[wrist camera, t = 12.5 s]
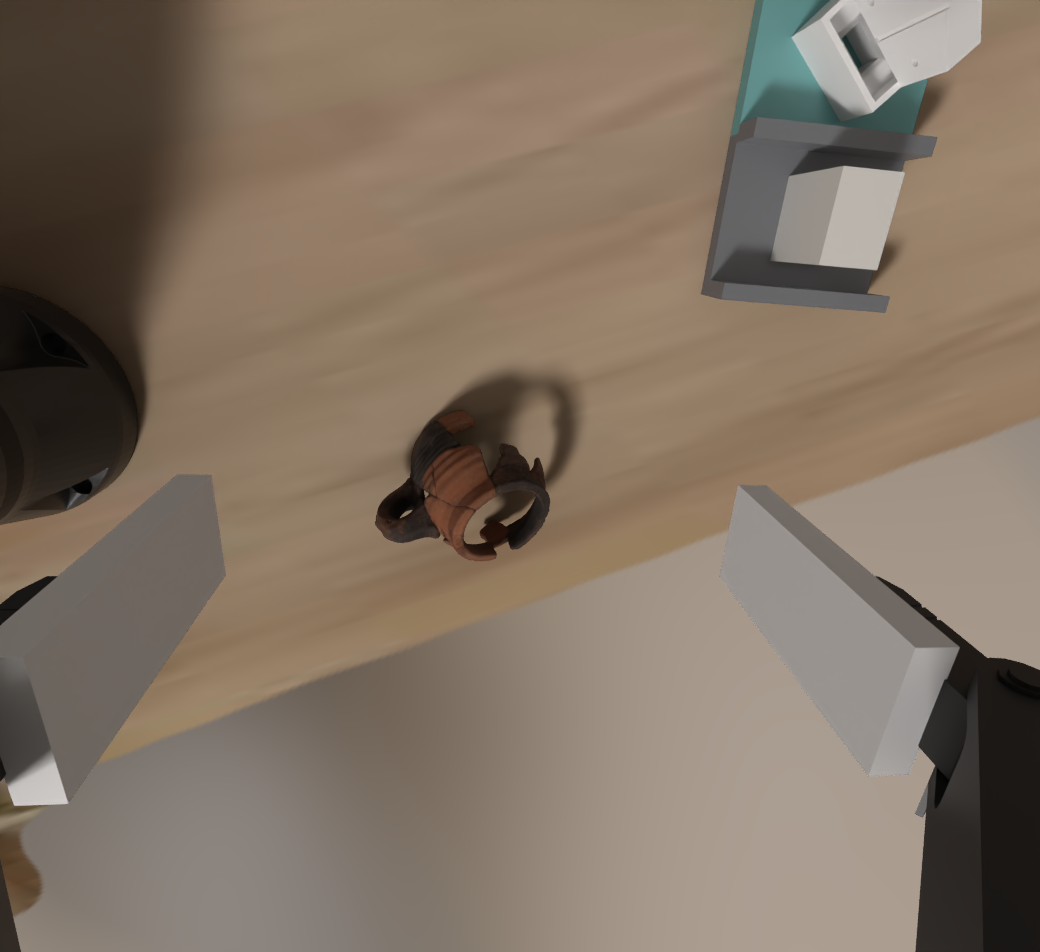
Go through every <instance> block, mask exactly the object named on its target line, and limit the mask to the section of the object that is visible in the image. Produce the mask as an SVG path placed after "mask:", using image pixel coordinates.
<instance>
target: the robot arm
mask: <svg viewBox="0 0 1040 952" xmlns="http://www.w3.org/2000/svg"><path fill="white" fill-rule="evenodd" d="M137 427H138V423H137V411H136V405H135V401H134V397H133V393H132V391H131V388H130V385H129V383H128V381H127V378H126V376H125V374H124V372H123V370H122V369H121V367H120V365H119V364H118V362H117V361H116V359H115V358H114V356H113V355H112V353H111V352H110V351H109V350H108V348H107V347H106V346H105V345H104V344H103V342H102V341H101V340H100V339H99V338H98V337H97V336H96V335H95V334H94V333H93V332H92V331H91V330H90V329H88V328H87V327H86V326H85V325H84V324H83V323H81V322H80V321H79V320H77V319H76V318H75V317H73V316H72V315H70V314H69V313H68V312H66V311H64V310H63V309H61V308H59V307H58V306H56V305H54V304H52V303H50V302H48V301H46V300H44V299H41V298H39V297H37V296H34V295H31V294H29V293H25V292H22V291H19V290H15V289H11V288H6V287H0V525H2V524H8V523H13V522H18V521H23V520H29V519H34V518H39V517H44V516H49V515H54V514H58V513H61V512H64V511H67V510H69V509H72V508H74V507H76V506H79V505H81V504H82V503H84V502H86V501H87V500H89V499H90V498H92V497H93V496H95V495H96V494H98V493H99V492H101V491H102V490H104V489H105V488H107V487H108V486H109V485H110V484H112V483H113V482H114V481H115V480H116V479H117V478H118V477H119V475H120V474H121V473H122V472H123V470H124V469H125V467H126V466H127V464H128V462H129V460H130V458H131V456H132V453H133V450H134V447H135V443H136V438H137ZM225 576H226V573H225V566H224V559H223V552H222V545H221V538H220V531H219V524H218V517H217V511H216V504H215V497H214V490H213V483H212V476H211V475H184V474H177V475H176V476H175V477H174V478H173V479H171V480H170V481H169V482H168V483H167V484H166V485H164V486H163V487H162V488H161V489H160V490H159V491H157V492H156V493H155V494H154V495H153V496H152V497H150V498H149V499H148V500H147V501H146V502H145V503H143V504H142V505H141V506H140V507H139V508H137V509H136V510H135V511H134V512H133V513H132V514H130V515H129V516H128V517H127V518H126V519H125V520H123V521H122V522H121V523H120V524H119V525H118V526H116V527H115V528H114V529H113V530H112V531H110V532H109V533H108V534H107V535H106V536H105V537H103V538H102V539H101V540H100V541H99V542H98V543H96V544H95V545H94V546H93V547H92V548H91V549H89V550H88V551H87V552H86V553H85V554H84V555H82V556H81V557H80V558H79V559H78V560H76V561H75V562H74V563H73V564H72V565H71V566H69V567H68V568H67V569H66V570H65V571H64V572H62V573H61V574H60V575H59V576H47V577H45V578H43V579H41V580H39V581H37V582H35V583H33V584H31V585H29V586H27V587H25V588H23V589H21V590H18V591H16V592H15V593H14V594H13V595H12V596H10V597H9V598H8V599H7V600H5V601H4V602H3V603H2V604H0V781H1V780H2V779H3V778H5V781H6V784H7V786H8V789H9V792H10V795H11V798H12V800H13V803H14V806H19V805H48V804H68V803H69V802H70V801H71V799H72V798H73V796H74V795H75V793H76V792H77V791H78V789H79V788H80V786H81V785H82V783H83V782H84V780H85V779H86V777H87V776H88V774H89V773H90V771H91V770H92V769H93V767H94V766H95V764H96V763H97V762H98V760H99V759H100V757H101V756H102V754H103V753H104V751H105V750H106V748H107V747H108V746H109V744H110V743H111V741H112V740H113V738H114V737H115V735H116V734H117V732H118V731H119V730H120V728H121V727H122V725H123V724H124V722H125V721H126V719H127V718H128V716H129V715H130V714H131V712H132V711H133V709H134V708H135V706H136V705H137V703H138V702H139V701H140V699H141V698H142V696H143V695H144V693H145V692H146V690H147V689H148V687H149V686H150V685H151V683H152V682H153V680H154V679H155V677H156V676H157V674H158V673H159V671H160V670H161V669H162V667H163V666H164V664H165V663H166V661H167V660H168V658H169V657H170V656H171V654H172V653H173V651H174V650H175V648H176V647H177V645H178V644H179V642H180V641H181V640H182V638H183V637H184V635H185V634H186V632H187V631H188V629H189V628H190V626H191V625H192V624H193V622H194V621H195V619H196V618H197V616H198V615H199V613H200V612H201V610H202V609H203V608H204V606H205V605H206V603H207V602H208V600H209V599H210V597H211V596H212V595H213V593H214V592H215V590H216V589H217V587H218V586H219V584H220V583H221V581H222V580H223V579H224V577H225ZM719 577H720V578H721V579H722V581H723V582H724V583H725V585H726V586H727V587H728V589H729V590H730V591H731V593H732V594H733V595H734V597H735V598H736V599H737V601H738V602H739V603H740V605H741V606H742V608H743V609H744V610H745V612H746V613H747V614H748V616H749V617H750V618H751V620H752V621H753V622H754V624H755V625H756V626H757V628H758V629H759V630H760V632H761V633H762V634H763V636H764V637H765V638H766V640H767V641H768V642H769V644H770V645H771V646H772V648H773V649H774V650H775V652H776V653H777V655H778V656H779V657H780V659H781V660H782V661H783V662H784V664H785V665H786V667H787V668H788V669H789V671H790V672H791V673H792V675H793V676H794V677H795V679H796V680H797V681H798V683H799V684H800V685H801V687H802V688H803V689H804V691H805V692H806V693H807V695H808V696H809V697H810V699H811V700H812V702H813V703H814V704H815V705H816V707H817V708H818V710H819V711H820V712H821V714H822V715H823V716H824V718H825V719H826V720H827V722H828V723H829V724H830V726H831V727H832V728H833V730H834V731H835V732H836V734H837V735H838V736H839V738H840V739H841V740H842V742H843V743H844V745H845V746H846V747H847V748H848V750H849V751H850V753H851V754H852V755H853V756H854V758H855V759H856V761H857V762H858V763H859V765H860V766H861V767H862V768H863V770H864V771H865V773H866V774H867V775H868V776H889V775H890V776H892V775H909V773H910V770H911V767H912V765H913V763H914V760H915V757H916V755H917V752H918V750H919V748H921V750H922V751H923V752H924V753H925V754H926V755H927V756H928V757H929V759H930V760H931V761H932V762H933V763H934V764H935V768H934V770H933V772H932V775H931V777H930V779H929V782H928V784H927V787H926V789H925V792H924V794H923V796H922V798H921V801H920V803H919V806H918V808H917V810H916V813H915V814H916V815H918V816H920V817H923V815H924V814H925V812H926V820H925V834H924V847H923V860H922V873H921V886H920V900H919V913H918V927H917V939H916V952H1040V670H1038V669H1035V668H1033V667H1031V666H1028V665H1026V664H1023V663H1020V662H1016V661H1012V660H1008V659H1001V658H987V657H985V656H984V655H983V654H982V653H980V652H979V651H978V650H977V649H975V648H974V647H973V646H972V645H971V644H969V643H968V642H967V641H966V640H964V639H963V638H962V637H961V636H960V635H958V634H957V633H956V632H954V631H953V630H952V629H951V628H950V627H948V626H947V625H946V624H945V623H944V622H942V621H941V620H937V617H936V616H935V615H934V614H932V613H931V612H930V611H929V610H928V609H926V608H922V606H921V604H920V603H919V602H918V601H916V600H915V599H914V598H913V597H912V596H910V595H909V594H908V593H907V592H905V591H904V590H903V589H901V588H899V587H897V586H895V585H893V584H891V583H890V582H888V581H886V580H884V579H882V578H880V577H877V576H876V577H875V576H874V575H873V574H871V573H870V572H869V571H868V570H867V569H865V568H864V567H863V566H862V565H861V564H860V563H858V562H857V561H856V560H855V559H854V558H852V557H851V556H850V555H849V554H848V553H846V552H845V551H844V550H843V549H841V548H840V547H839V546H838V545H837V544H836V543H834V542H833V541H832V540H831V539H830V538H828V537H827V536H826V535H825V534H824V533H822V532H821V531H820V530H819V529H818V528H816V527H815V526H814V525H813V524H812V523H810V522H809V521H808V520H807V519H806V518H805V517H803V516H802V515H801V514H800V513H798V512H797V511H796V510H795V509H794V508H793V507H791V506H790V505H789V504H788V503H787V502H785V501H784V500H783V499H782V498H781V497H779V496H778V495H777V494H776V493H775V492H773V491H772V490H771V489H770V488H769V487H767V486H766V485H738V489H737V494H736V498H735V503H734V508H733V513H732V518H731V522H730V527H729V532H728V537H727V542H726V547H725V551H724V556H723V561H722V565H721V570H720V575H719ZM0 952H21V950H20V946H19V941H18V937H17V932H16V928H15V923H14V919H13V914H12V910H11V905H10V901H9V896H8V892H7V888H6V883H5V879H4V874H3V870H2V865H1V861H0Z"/></svg>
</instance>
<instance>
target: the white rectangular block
mask: <svg viewBox="0 0 1040 952" xmlns="http://www.w3.org/2000/svg"><path fill="white" fill-rule="evenodd" d="M904 174H905V172H897V171H888V170H878V169H869V168H859V167H850V166H840V167H835V168H830V169H824V170H819V171H814V172H808V173H803V174H798V175H792V176H789V178H788V183H787V187H786V192H785V196H784V201H783V205H782V210H781V214H780V219H779V223H778V228H777V232H776V237H775V241H774V246H773V250H772V255H771V259H770V261H778V262H789V263H800V264H812V265H823V266H834V267H846V268H858V269H869V270H877V269H878V266H879V262H880V259H881V255H882V252H883V248H884V245H885V241H886V238H887V234H888V231H889V227H890V224H891V220H892V217H893V213H894V209H895V206H896V202H897V199H898V195H899V192H900V188H901V185H902V181H903V178H904Z"/></svg>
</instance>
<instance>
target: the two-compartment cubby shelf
mask: <svg viewBox="0 0 1040 952" xmlns="http://www.w3.org/2000/svg"><path fill="white" fill-rule="evenodd" d="M829 1H830V0H756V2H755V8H754V13H753V18H752V24H751V29H750V34H749V40H748V45H747V51H746V56H745V61H744V67H743V72H742V77H741V83H740V88H739V94H738V99H737V104H736V110H735V115H734V120H733V126H732V131H731V137H730V142H729V147H728V153H727V158H726V164H725V169H724V174H723V180H722V185H721V190H720V196H719V201H718V207H717V212H716V217H715V223H714V228H713V233H712V239H711V244H710V250H709V255H708V260H707V266H706V271H705V277H704V282H703V287H702V293H701V294H702V295H706V296H710V297H714V298H718V299H723V300H735V301H747V302H759V303H772V304H784V305H796V306H808V307H820V308H833V309H845V310H857V311H869V312H881V313H885V312H886V309H887V305H888V302H889V299H890V297H888V296H881V295H875V294H868V293H867V292H868V289H869V285H870V282H871V278H872V275H873V271H874V270H869V269H858V268H846V267H834V266H823V265H812V264H800V263H789V262H778V261H770V259H771V255H772V250H773V246H774V241H775V237H776V232H777V228H778V223H779V219H780V214H781V210H782V205H783V201H784V196H785V192H786V187H787V183H788V178H789V176H792V175H798V174H803V173H808V172H814V171H819V170H824V169H830V168H835V167H840V166H850V167H859V168H869V169H878V170H888V171H897V172H902V169H903V165H904V162H905V161H908V160H914V159H919V158H925V157H931V156H932V154H933V150H934V147H935V144H936V140H937V137H932V136H923V135H914V134H913V130H914V126H915V123H916V119H917V116H918V112H919V109H920V105H921V102H922V98H923V95H924V91H925V88H926V84H927V81H928V78H927V79H924V80H921V81H918V82H915V83H912V84H909V85H906V86H903V87H901V88H900V89H898V90H897V91H896V92H895V93H894V94H893V95H892V96H891V97H889V98H888V99H887V100H886V101H885V102H884V103H883V104H882V105H880V106H879V107H878V108H877V109H876V110H875V111H874V112H873V113H869V114H866V115H863V116H860V117H856V118H853V119H850V120H847V121H843V122H840V120H839V119H838V117H837V115H836V113H835V112H834V110H833V108H832V106H831V105H830V103H829V101H828V100H827V98H826V96H825V94H824V93H823V91H822V89H821V88H820V86H819V84H818V82H817V81H816V79H815V77H814V75H813V74H812V72H811V70H810V69H809V67H808V65H807V63H806V62H805V60H804V58H803V56H802V55H801V53H800V51H799V50H798V48H797V46H796V44H795V43H794V41H793V39H792V36H793V35H794V34H795V33H796V32H797V31H798V30H799V29H800V28H801V27H802V26H803V25H804V24H806V23H807V22H808V21H809V20H810V19H811V18H812V17H813V16H814V15H815V14H816V13H817V12H818V11H819V10H820V9H821V8H822V7H823V6H824V5H826V4H827V3H828V2H829ZM842 40H843V42H844V44H845V46H846V48H847V49H848V51H849V53H850V55H851V57H852V58H853V60H854V62H855V64H856V66H857V68H858V69H859V68H860V67H861V66H862V64H861V62H860V60H859V59H858V57H857V55H856V53H855V51H854V49H853V48H852V46H851V44H850V42H849V40H848V39H847V37H846V35H845V36H844V37H843V38H842Z"/></svg>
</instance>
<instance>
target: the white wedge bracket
mask: <svg viewBox="0 0 1040 952" xmlns="http://www.w3.org/2000/svg"><path fill="white" fill-rule="evenodd" d="M981 14H982V0H830V1H829V2H828V3H827V4H826V5H824V6H823V7H822V8H821V9H820V10H819V11H818V12H817V13H816V14H815V15H814V16H813V17H812V18H811V19H810V20H809V21H808V22H807V23H806V24H804V25H803V26H802V27H801V28H800V29H799V30H798V31H797V32H796V33H795V34H794V35H793V36H792V39H793V41H794V43H795V44H796V46H797V48H798V50H799V51H800V53H801V55H802V56H803V58H804V60H805V62H806V63H807V65H808V67H809V69H810V70H811V72H812V74H813V75H814V77H815V79H816V81H817V82H818V84H819V86H820V88H821V89H822V91H823V93H824V94H825V96H826V98H827V100H828V101H829V103H830V105H831V106H832V108H833V110H834V112H835V113H836V115H837V117H838V119H839V120H840V122H843V121H847V120H850V119H853V118H856V117H860V116H863V115H866V114H869V113H873V112H874V111H875V110H876V109H877V108H878V107H879V106H880V105H882V104H883V103H884V102H885V101H886V100H887V99H888V98H889V97H891V96H892V95H893V94H894V93H895V92H896V91H897V90H898V89H900V88H901V87H903V86H906V85H909V84H912V83H915V82H918V81H921V80H924V79H927V78H929V77H932V76H935V75H938V74H941V73H944V72H947V71H949V70H950V69H951V68H952V67H953V66H954V65H956V64H957V63H958V62H959V61H960V60H961V59H962V58H963V57H965V56H966V55H967V54H968V53H969V52H970V51H971V50H973V49H974V48H975V47H976V46H977V45H978V44H979V43H981ZM845 35H846V37H847V39H848V40H849V42H850V44H851V46H852V48H853V49H854V51H855V53H856V55H857V57H858V59H859V60H860V62H861V64H862V66H861V67H860V68H859V69H858V68H857V66H856V64H855V62H854V60H853V58H852V57H851V55H850V53H849V51H848V49H847V48H846V46H845V44H844V42H843V40H842V38H843V37H844V36H845Z"/></svg>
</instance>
